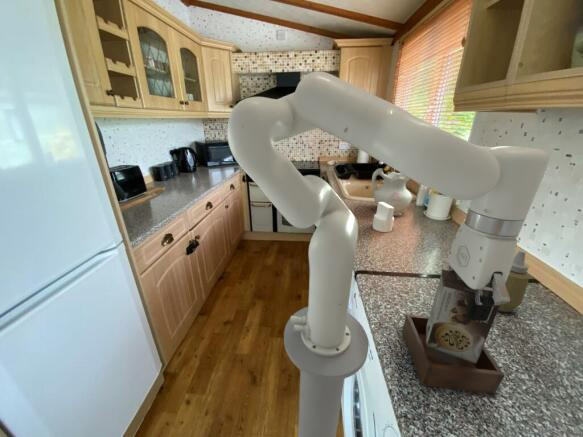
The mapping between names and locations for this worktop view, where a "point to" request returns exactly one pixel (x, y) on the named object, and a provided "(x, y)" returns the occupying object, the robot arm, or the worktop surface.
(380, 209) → the base with upright slab
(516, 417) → the worktop surface
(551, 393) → the worktop surface
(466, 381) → the tray
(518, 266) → the squeeze bottle
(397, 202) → the ceramic pitcher
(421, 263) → the worktop surface
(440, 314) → the coffee box
